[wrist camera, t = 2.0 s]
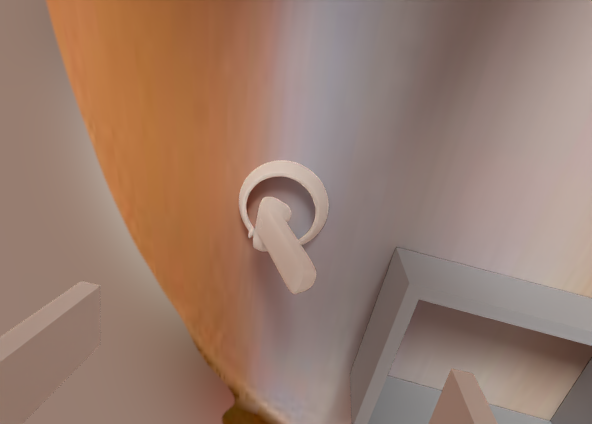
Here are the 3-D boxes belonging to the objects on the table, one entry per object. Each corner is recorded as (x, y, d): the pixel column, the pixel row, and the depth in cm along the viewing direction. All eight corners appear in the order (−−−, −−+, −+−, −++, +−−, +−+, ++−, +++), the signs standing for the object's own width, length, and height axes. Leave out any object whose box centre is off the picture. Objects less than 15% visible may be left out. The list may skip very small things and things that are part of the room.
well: (396, 246, 29) (409, 283, 23) (637, 310, 28) (712, 364, 22) (350, 373, 33) (351, 429, 28) (555, 431, 33) (600, 501, 27)
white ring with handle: (367, 313, 25) (280, 339, 22) (297, 222, 34) (228, 231, 31) (400, 231, 21) (300, 249, 18) (311, 151, 30) (234, 154, 27)
